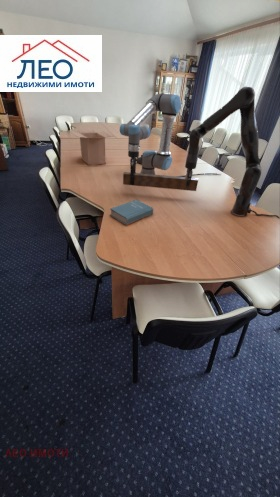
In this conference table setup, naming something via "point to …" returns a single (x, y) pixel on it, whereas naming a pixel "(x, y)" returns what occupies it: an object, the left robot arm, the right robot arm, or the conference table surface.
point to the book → (131, 211)
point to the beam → (160, 181)
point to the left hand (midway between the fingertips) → (132, 183)
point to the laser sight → (139, 159)
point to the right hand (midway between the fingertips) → (187, 184)
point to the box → (92, 146)
